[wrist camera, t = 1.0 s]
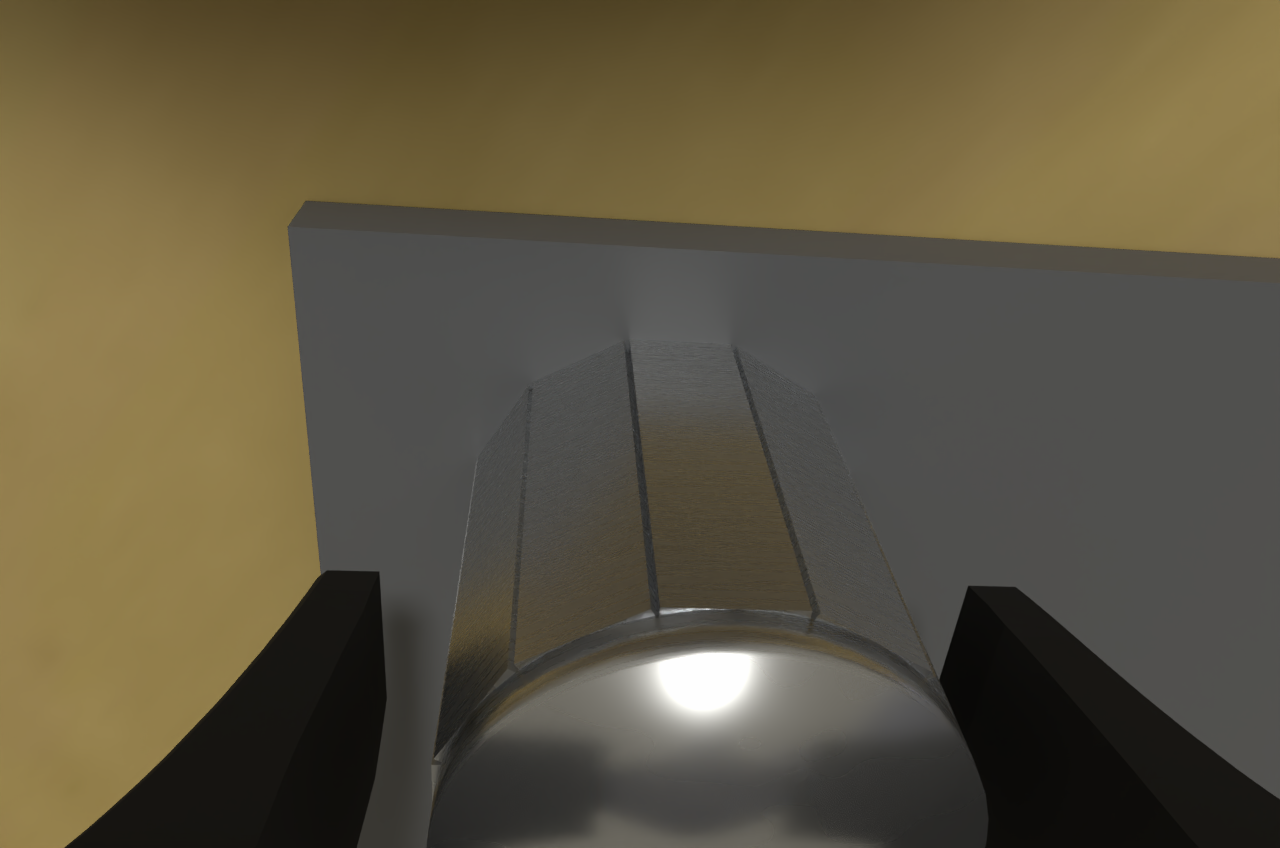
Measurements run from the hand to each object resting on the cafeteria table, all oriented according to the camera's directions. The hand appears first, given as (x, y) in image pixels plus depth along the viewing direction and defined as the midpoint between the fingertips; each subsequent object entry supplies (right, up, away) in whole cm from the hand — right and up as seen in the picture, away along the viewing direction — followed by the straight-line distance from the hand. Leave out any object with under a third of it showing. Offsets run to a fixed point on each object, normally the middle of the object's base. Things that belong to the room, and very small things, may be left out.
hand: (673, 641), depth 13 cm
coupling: (0, +1, +2) cm, 3 cm away
